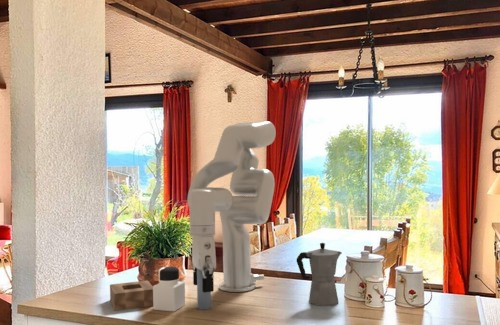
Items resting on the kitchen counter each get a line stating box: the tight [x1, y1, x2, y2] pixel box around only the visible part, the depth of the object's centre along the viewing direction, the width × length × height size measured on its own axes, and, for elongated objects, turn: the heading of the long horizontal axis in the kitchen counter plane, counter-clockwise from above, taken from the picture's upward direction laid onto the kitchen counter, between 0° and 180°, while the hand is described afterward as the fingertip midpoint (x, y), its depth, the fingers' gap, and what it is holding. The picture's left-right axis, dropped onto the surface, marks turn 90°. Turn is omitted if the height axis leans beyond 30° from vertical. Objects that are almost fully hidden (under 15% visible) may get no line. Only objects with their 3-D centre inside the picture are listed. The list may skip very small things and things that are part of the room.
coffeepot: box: [296, 242, 342, 307], centre depth 146 cm, size 15×9×18 cm, turn 110°
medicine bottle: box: [152, 265, 186, 312], centre depth 144 cm, size 7×7×12 cm
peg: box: [196, 268, 212, 311], centre depth 143 cm, size 4×4×12 cm
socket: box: [109, 280, 154, 311], centre depth 149 cm, size 12×12×5 cm
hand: (203, 288), depth 142 cm, fingers open, 9 cm apart
